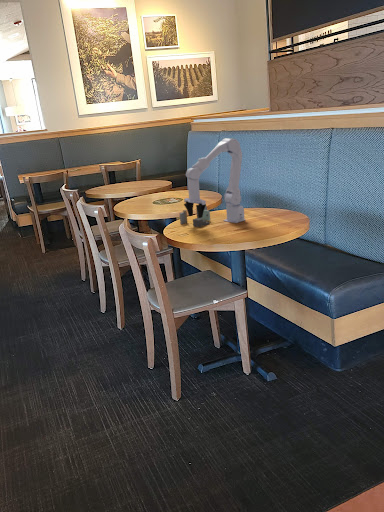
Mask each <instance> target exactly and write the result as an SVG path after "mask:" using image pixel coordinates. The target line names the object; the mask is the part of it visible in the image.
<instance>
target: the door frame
mask: <svg viewBox="0 0 384 512" xmlns="http://www.w3.org/2000/svg"><path fill="white" fill-rule="evenodd" d="M195 208H196V218H199V217H198V210H197V207H196V206H195ZM204 210H208V206H207V205H206V207H205V209H204ZM179 222H180V224H181V225H183V224H187V223H188V211H187V209H182V212H180V213H179Z"/></svg>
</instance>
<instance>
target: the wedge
mask: <svg viewBox="0 0 384 512" xmlns="http://www.w3.org/2000/svg"><path fill="white" fill-rule="evenodd" d="M207 225H210V221H207V220H203V219H199V218H197V217H196V218H193V219H192V227H194V228H200V227H201V228H202V227H204V226H207Z"/></svg>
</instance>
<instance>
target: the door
mask: <svg viewBox="0 0 384 512" xmlns="http://www.w3.org/2000/svg"><path fill="white" fill-rule="evenodd" d="M198 217H199V216H198ZM199 219H203V220H204V221H207V222H210V221H211V211H210V210H208V209H207V210H204V212H203V217H202V218H199Z"/></svg>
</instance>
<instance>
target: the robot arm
mask: <svg viewBox="0 0 384 512" xmlns="http://www.w3.org/2000/svg"><path fill="white" fill-rule="evenodd" d="M226 152H227V153H228V154H229V155H230V156H231V161H230V162H231V163H230V169H229V170H230V171H229V179H228V186H227V188H226V190H225V193H224V195H223V200H224V202H225V206H226V207H225V209H226V211H225V212H226V219H223V222H229V223H234V224H239V223H241V222H243V221H246V218H245V208H244V206H242V205H240V203H241V201H242V196H241V189H240V187H239V186H240V179H241V171H242V170H241V168H242V160H243V152H242V149H241V143H240V141H238V140H237V139H236V138H228V137H225V138H223V139H222V140H221V141H218V142H217V144H216V146H215V147H214V148H213V149H212V150H211V151H210V152H209V153H208V154H207V155H206V156H205V157H201V158H200V157H199V158H198V159H197V161H196V163H194V164H193V165H191V167H189V168H188V169H186V172H185V177H186V178H187V187H188V188H187V189H188V197H186V198H184V199H183V201H184V204H183V206H184V207H185V210H187V215H188V217H193V216H194V205H195V204H196V205H195V208H196V207H197V209H196V211H197V210H198V216H199V218H202V217H203V212H204V209H205V207H206V206H207V201H206V200H203V199H201V197H200V193H201V192H200V191H201V190H200V181H199V179H200V177H201V175H202V173H204V172H205V171H206V170H208V169H207V168H209V167H210V165H211V164H210V163H211V162H212V161H213V160H214V159H216V157H218V156H219V155H220V154H221V153H226Z"/></svg>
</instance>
